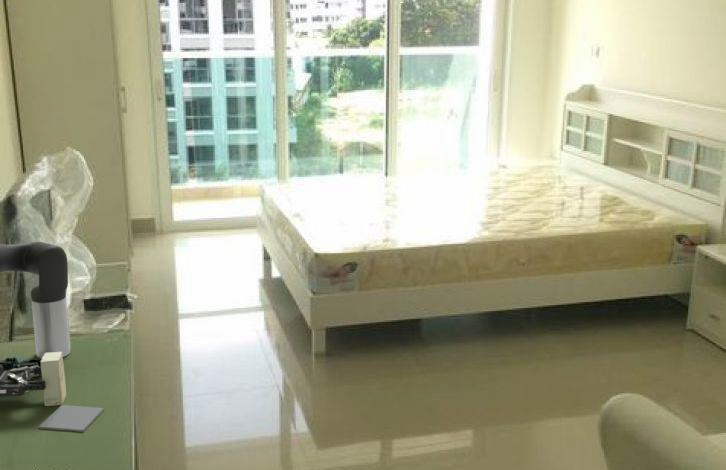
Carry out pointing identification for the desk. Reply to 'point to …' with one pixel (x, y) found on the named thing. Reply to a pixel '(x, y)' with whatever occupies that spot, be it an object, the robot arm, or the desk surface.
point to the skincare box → (53, 378)
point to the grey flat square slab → (71, 418)
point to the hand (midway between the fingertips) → (49, 377)
